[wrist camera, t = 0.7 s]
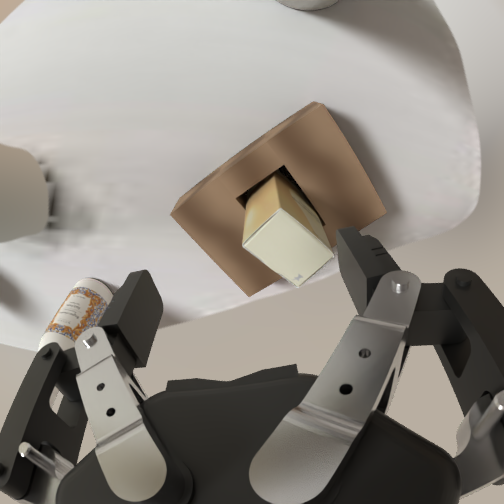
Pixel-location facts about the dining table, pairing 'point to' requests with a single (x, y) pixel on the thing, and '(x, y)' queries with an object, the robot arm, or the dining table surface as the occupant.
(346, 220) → the walnut holder block
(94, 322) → the bath foam
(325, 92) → the dining table surface
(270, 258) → the skincare box
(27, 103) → the dining table surface
